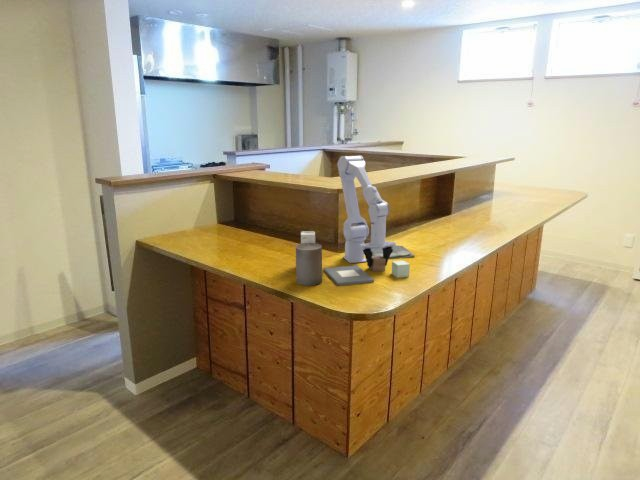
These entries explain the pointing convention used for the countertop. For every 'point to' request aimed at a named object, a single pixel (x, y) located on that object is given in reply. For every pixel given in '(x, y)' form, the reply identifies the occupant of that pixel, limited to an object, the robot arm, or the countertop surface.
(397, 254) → the dish towel
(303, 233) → the syrup box
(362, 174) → the robot arm
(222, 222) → the countertop surface
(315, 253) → the pillar candle
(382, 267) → the walnut block
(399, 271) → the sage block
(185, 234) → the countertop surface
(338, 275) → the base plate
